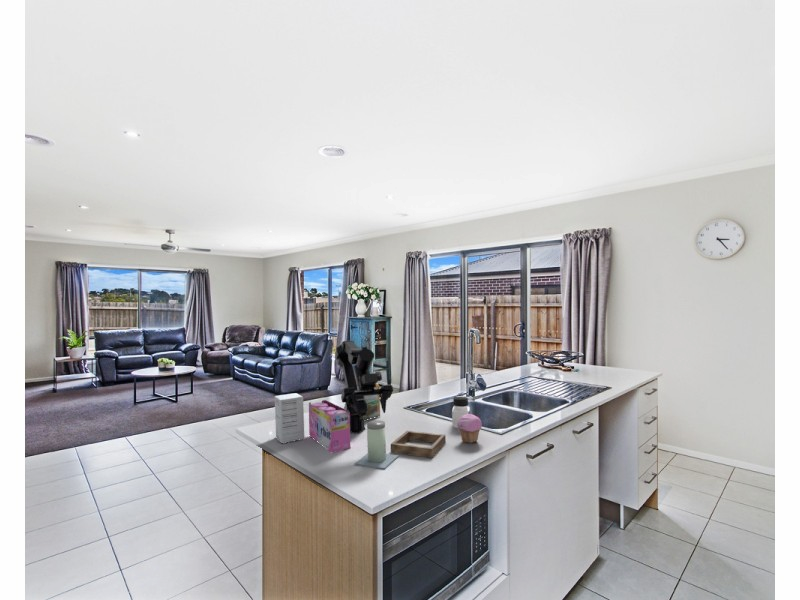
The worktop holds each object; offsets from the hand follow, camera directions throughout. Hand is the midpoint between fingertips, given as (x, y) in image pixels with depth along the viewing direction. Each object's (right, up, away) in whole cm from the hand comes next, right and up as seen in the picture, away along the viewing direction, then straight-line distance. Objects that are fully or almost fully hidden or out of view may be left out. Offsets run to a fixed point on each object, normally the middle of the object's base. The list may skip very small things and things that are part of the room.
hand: (372, 413), depth 141 cm
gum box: (-17, -14, +12) cm, 25 cm away
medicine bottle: (+36, -13, +27) cm, 47 cm away
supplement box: (-34, -15, +17) cm, 41 cm away
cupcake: (+36, -13, +8) cm, 39 cm away
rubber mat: (+2, -13, -8) cm, 16 cm away
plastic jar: (+2, -13, -8) cm, 15 cm away
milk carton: (-7, -14, +44) cm, 47 cm away
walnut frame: (+17, -13, +3) cm, 21 cm away
